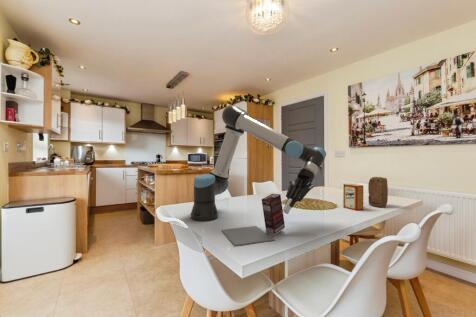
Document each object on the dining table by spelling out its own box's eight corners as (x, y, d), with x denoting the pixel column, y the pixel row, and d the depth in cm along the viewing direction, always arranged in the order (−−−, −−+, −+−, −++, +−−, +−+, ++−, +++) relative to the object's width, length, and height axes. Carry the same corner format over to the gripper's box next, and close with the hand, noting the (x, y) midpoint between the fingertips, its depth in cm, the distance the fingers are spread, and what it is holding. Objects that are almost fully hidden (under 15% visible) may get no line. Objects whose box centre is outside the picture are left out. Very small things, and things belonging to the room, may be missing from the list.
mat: (221, 231, 98) (221, 229, 98) (255, 227, 104) (255, 225, 104) (234, 246, 81) (234, 244, 81) (274, 240, 87) (274, 239, 87)
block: (388, 207, 146) (389, 177, 146) (380, 208, 143) (381, 178, 143) (374, 204, 156) (374, 176, 156) (366, 204, 154) (366, 176, 153)
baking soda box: (343, 207, 145) (343, 183, 145) (349, 206, 148) (350, 183, 148) (356, 210, 136) (356, 185, 136) (363, 209, 139) (363, 184, 139)
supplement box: (276, 225, 102) (272, 193, 100) (285, 227, 98) (281, 194, 96) (265, 233, 96) (260, 198, 94) (274, 236, 92) (269, 200, 90)
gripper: (322, 178, 104) (300, 219, 94) (300, 177, 114) (278, 213, 104) (315, 168, 101) (292, 209, 91) (293, 167, 111) (270, 204, 101)
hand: (285, 211), depth 98 cm, fingers closed
